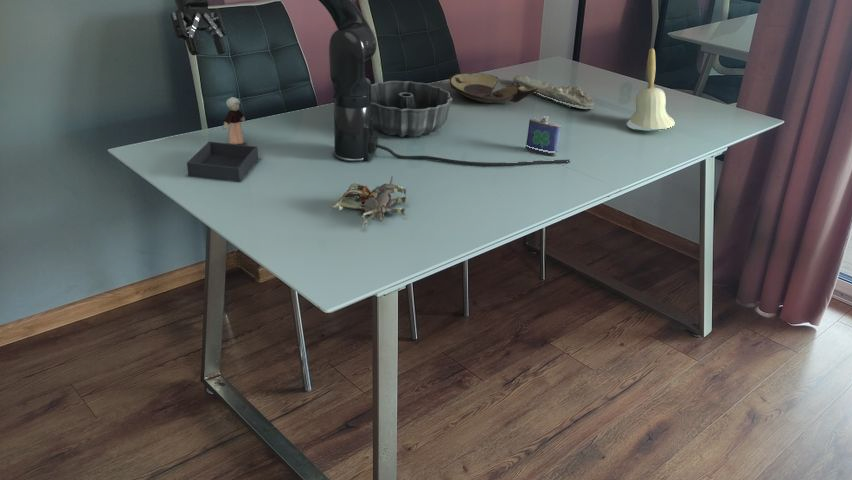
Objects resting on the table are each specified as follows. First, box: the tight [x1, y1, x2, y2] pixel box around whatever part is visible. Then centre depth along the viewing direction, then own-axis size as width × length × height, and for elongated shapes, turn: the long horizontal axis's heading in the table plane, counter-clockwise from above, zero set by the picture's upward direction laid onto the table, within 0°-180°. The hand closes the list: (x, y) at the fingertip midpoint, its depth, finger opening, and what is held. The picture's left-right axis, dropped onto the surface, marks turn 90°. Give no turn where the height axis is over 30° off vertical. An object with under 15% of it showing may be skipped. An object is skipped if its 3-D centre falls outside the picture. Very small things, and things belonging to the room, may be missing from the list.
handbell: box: [629, 47, 676, 130], centre depth 236 cm, size 15×15×25 cm
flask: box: [525, 115, 562, 157], centre depth 212 cm, size 9×3×11 cm, turn 68°
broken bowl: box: [448, 72, 538, 104], centre depth 247 cm, size 22×30×8 cm
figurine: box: [329, 175, 407, 228], centre depth 171 cm, size 20×6×17 cm
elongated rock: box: [512, 75, 596, 109], centre depth 259 cm, size 35×5×10 cm
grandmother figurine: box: [222, 96, 246, 145], centre depth 194 cm, size 8×4×13 cm, turn 168°
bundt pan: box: [371, 80, 453, 138], centre depth 218 cm, size 26×26×10 cm
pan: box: [186, 141, 260, 183], centre depth 184 cm, size 12×14×3 cm
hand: (209, 54), depth 190 cm, fingers open, 8 cm apart
